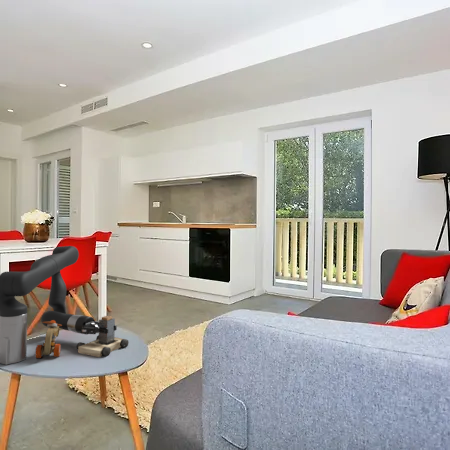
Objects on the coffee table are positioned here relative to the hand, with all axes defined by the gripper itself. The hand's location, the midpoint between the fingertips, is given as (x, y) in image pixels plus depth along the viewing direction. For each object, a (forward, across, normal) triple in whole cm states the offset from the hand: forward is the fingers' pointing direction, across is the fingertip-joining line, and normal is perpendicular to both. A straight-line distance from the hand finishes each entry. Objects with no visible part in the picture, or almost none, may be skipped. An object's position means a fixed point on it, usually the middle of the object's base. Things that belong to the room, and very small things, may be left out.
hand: (111, 329), depth 148 cm
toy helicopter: (-19, -14, +8) cm, 25 cm away
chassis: (-3, -2, +8) cm, 8 cm away
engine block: (-3, 0, +6) cm, 7 cm away
